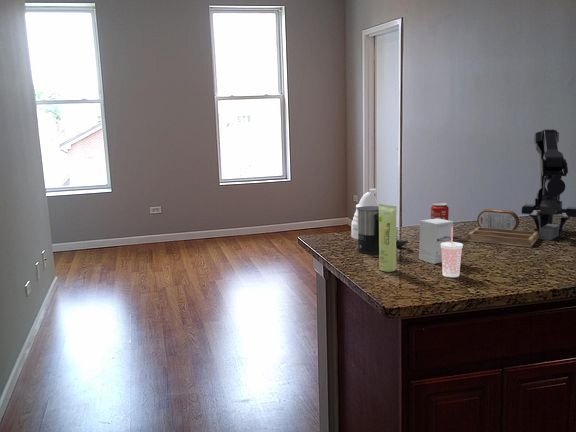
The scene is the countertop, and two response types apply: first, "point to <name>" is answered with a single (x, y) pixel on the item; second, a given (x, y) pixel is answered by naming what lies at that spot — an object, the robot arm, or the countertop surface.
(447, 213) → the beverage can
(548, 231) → the bar
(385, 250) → the tube
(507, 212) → the tin
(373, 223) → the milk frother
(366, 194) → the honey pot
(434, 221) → the supplement box
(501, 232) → the divided wooden tray
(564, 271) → the countertop surface
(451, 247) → the beverage cup
